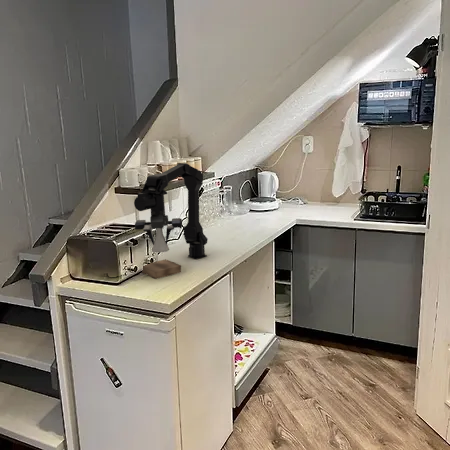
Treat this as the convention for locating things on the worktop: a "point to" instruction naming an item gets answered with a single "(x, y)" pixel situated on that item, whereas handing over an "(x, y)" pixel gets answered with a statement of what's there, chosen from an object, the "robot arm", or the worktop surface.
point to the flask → (160, 242)
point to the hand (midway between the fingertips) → (160, 244)
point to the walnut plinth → (161, 269)
